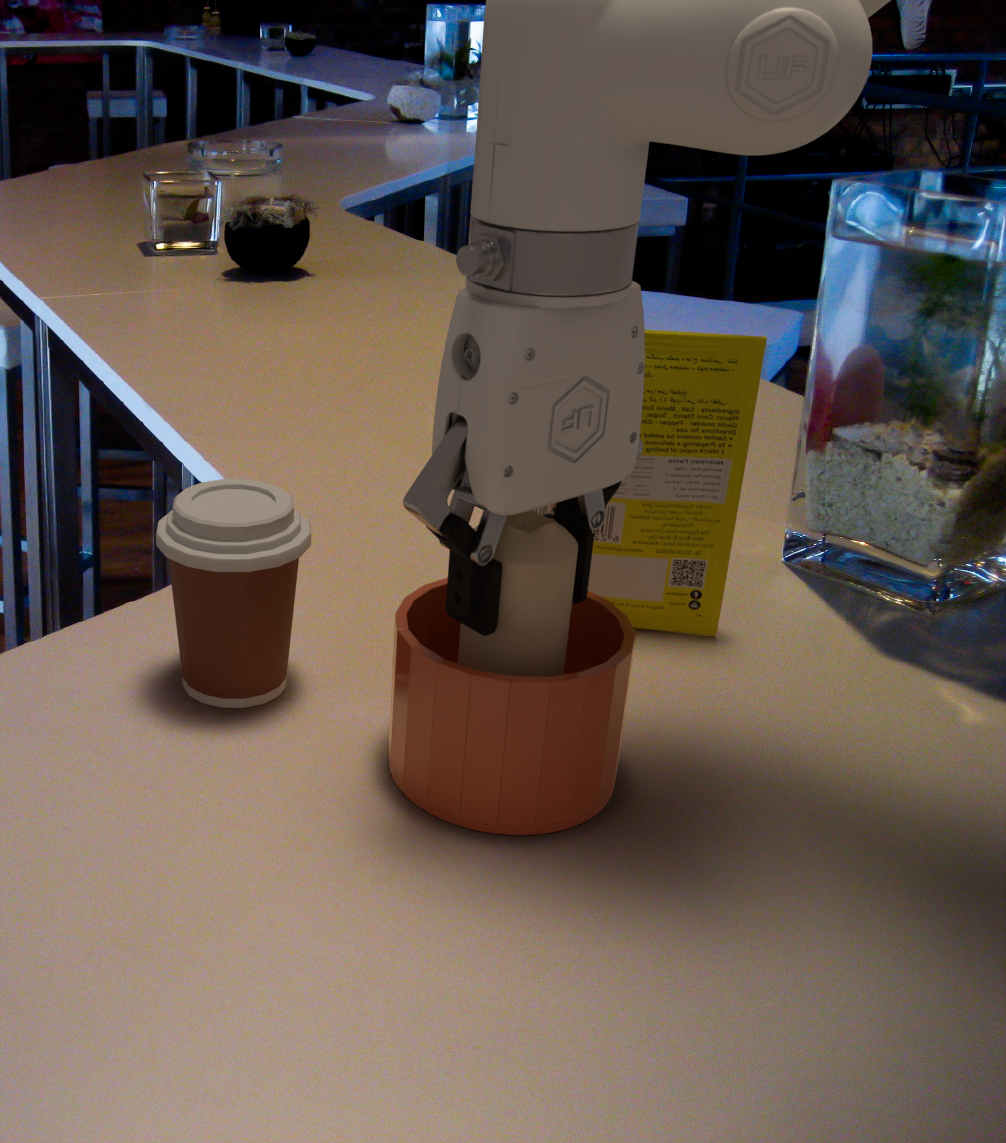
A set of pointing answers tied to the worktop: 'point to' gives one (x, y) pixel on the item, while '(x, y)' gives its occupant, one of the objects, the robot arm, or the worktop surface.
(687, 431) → the food package
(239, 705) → the coffee cup
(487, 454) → the robot arm
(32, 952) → the worktop surface
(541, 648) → the candle
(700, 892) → the worktop surface
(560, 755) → the pot cup
